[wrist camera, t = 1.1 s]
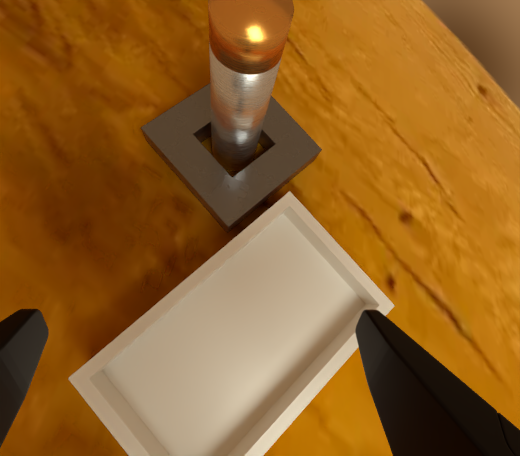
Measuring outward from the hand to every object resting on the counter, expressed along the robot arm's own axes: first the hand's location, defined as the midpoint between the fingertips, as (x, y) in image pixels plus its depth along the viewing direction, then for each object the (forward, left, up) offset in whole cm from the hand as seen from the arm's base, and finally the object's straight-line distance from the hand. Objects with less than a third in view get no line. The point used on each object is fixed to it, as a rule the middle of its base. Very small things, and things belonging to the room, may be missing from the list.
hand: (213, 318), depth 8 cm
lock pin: (+9, -9, -14) cm, 19 cm away
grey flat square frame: (+9, -9, -14) cm, 19 cm away
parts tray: (-3, 0, -14) cm, 14 cm away
